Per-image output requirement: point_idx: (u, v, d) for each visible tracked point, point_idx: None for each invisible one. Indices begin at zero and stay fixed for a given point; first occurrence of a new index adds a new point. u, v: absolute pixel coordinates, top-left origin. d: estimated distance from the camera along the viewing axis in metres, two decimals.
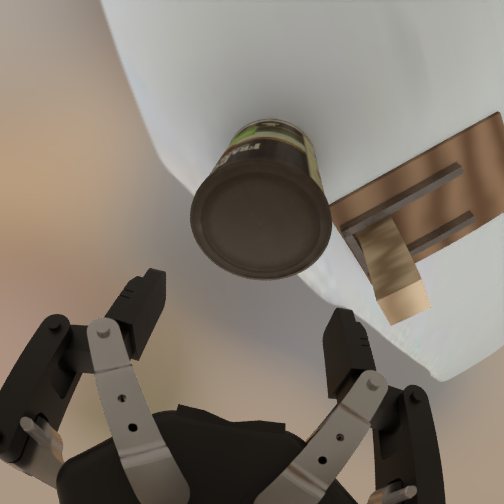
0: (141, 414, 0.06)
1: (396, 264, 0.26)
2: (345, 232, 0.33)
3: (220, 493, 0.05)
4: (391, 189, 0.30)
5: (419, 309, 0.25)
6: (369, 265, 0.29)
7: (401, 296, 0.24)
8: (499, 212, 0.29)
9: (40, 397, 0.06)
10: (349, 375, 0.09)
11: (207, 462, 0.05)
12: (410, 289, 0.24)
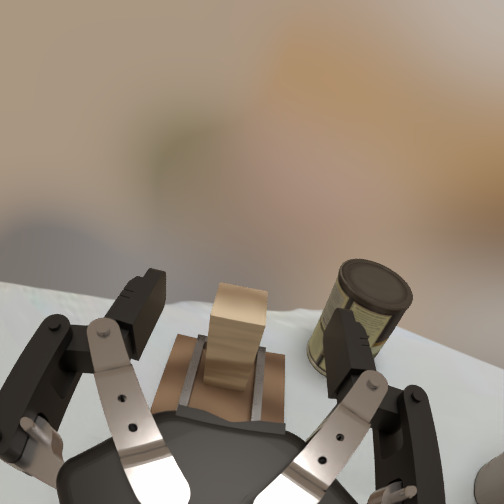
0: (141, 414, 0.06)
1: None
2: (263, 349, 0.35)
3: (220, 493, 0.05)
4: (268, 406, 0.29)
5: (219, 306, 0.26)
6: None
7: (255, 305, 0.27)
8: None
9: (40, 397, 0.06)
10: (349, 375, 0.09)
11: (207, 462, 0.05)
12: (258, 313, 0.26)
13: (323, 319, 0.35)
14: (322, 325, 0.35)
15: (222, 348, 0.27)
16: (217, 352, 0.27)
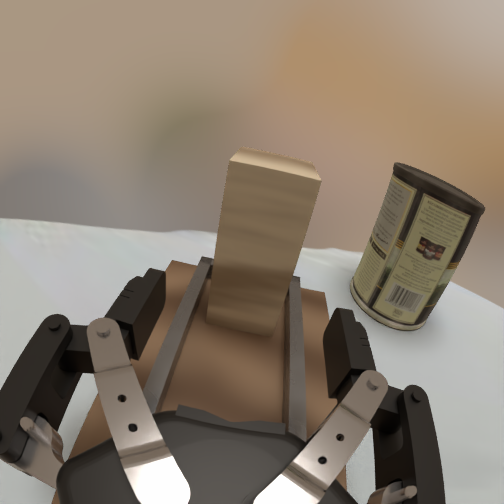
0: (141, 414, 0.06)
1: None
2: (296, 279, 0.25)
3: (220, 493, 0.05)
4: (311, 359, 0.19)
5: (243, 157, 0.15)
6: None
7: (299, 166, 0.17)
8: None
9: (40, 397, 0.06)
10: (349, 375, 0.09)
11: (207, 462, 0.05)
12: (306, 171, 0.16)
13: (378, 235, 0.25)
14: (377, 244, 0.25)
15: (243, 237, 0.17)
16: (235, 249, 0.17)
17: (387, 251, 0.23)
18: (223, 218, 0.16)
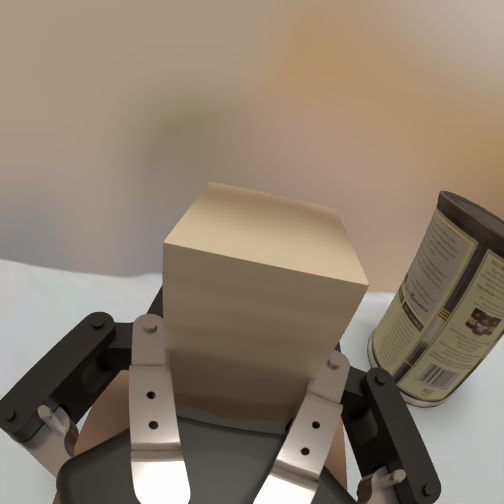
0: (166, 414, 0.06)
1: None
2: None
3: (220, 493, 0.05)
4: None
5: (200, 222, 0.07)
6: None
7: (318, 230, 0.09)
8: None
9: (66, 390, 0.06)
10: None
11: (207, 462, 0.05)
12: (333, 250, 0.08)
13: (413, 296, 0.17)
14: (411, 309, 0.17)
15: (210, 368, 0.09)
16: (198, 379, 0.09)
17: (426, 321, 0.15)
18: (170, 340, 0.08)
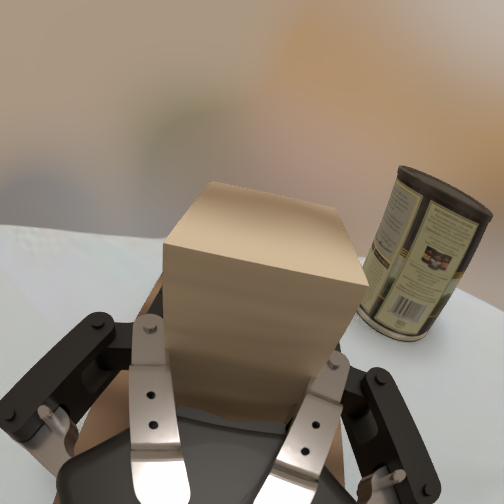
0: (166, 414, 0.06)
1: None
2: None
3: (220, 493, 0.05)
4: None
5: (200, 223, 0.07)
6: None
7: (318, 230, 0.09)
8: None
9: (66, 390, 0.06)
10: None
11: (207, 462, 0.05)
12: (334, 250, 0.08)
13: (381, 243, 0.23)
14: (380, 253, 0.23)
15: (210, 367, 0.09)
16: (198, 378, 0.09)
17: (391, 260, 0.22)
18: (170, 340, 0.08)
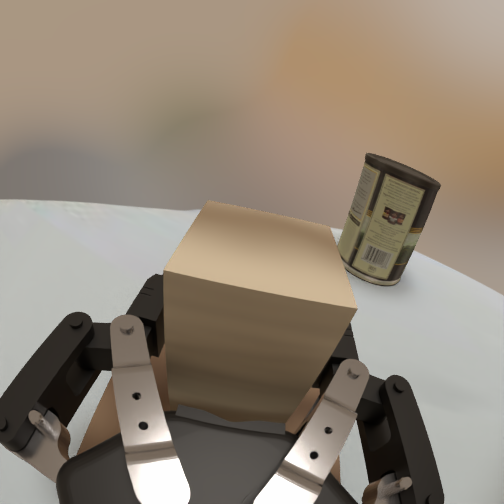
0: (154, 413, 0.06)
1: None
2: None
3: (220, 493, 0.05)
4: None
5: (198, 248, 0.08)
6: None
7: (311, 252, 0.09)
8: (106, 404, 0.13)
9: (53, 392, 0.06)
10: (330, 364, 0.10)
11: (207, 462, 0.05)
12: (325, 272, 0.08)
13: (354, 208, 0.32)
14: (353, 215, 0.32)
15: (209, 379, 0.09)
16: (198, 390, 0.09)
17: (360, 219, 0.31)
18: (171, 355, 0.08)
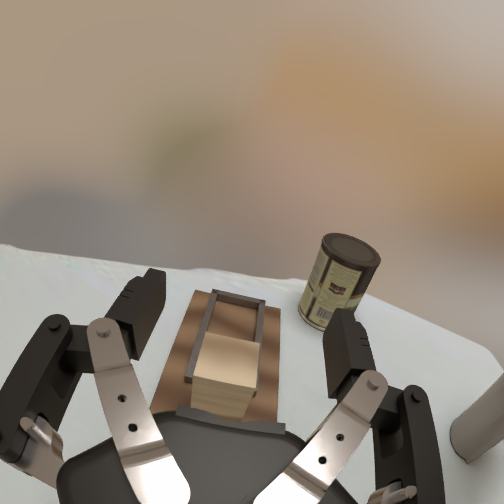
0: (141, 414, 0.06)
1: None
2: (263, 301, 0.46)
3: (220, 493, 0.05)
4: (267, 343, 0.40)
5: (203, 364, 0.21)
6: None
7: (245, 362, 0.22)
8: (152, 412, 0.27)
9: (40, 397, 0.06)
10: (349, 375, 0.09)
11: (207, 462, 0.05)
12: (248, 372, 0.22)
13: (311, 278, 0.46)
14: (310, 283, 0.46)
15: (207, 404, 0.22)
16: (203, 407, 0.23)
17: (314, 288, 0.45)
18: (193, 396, 0.22)
